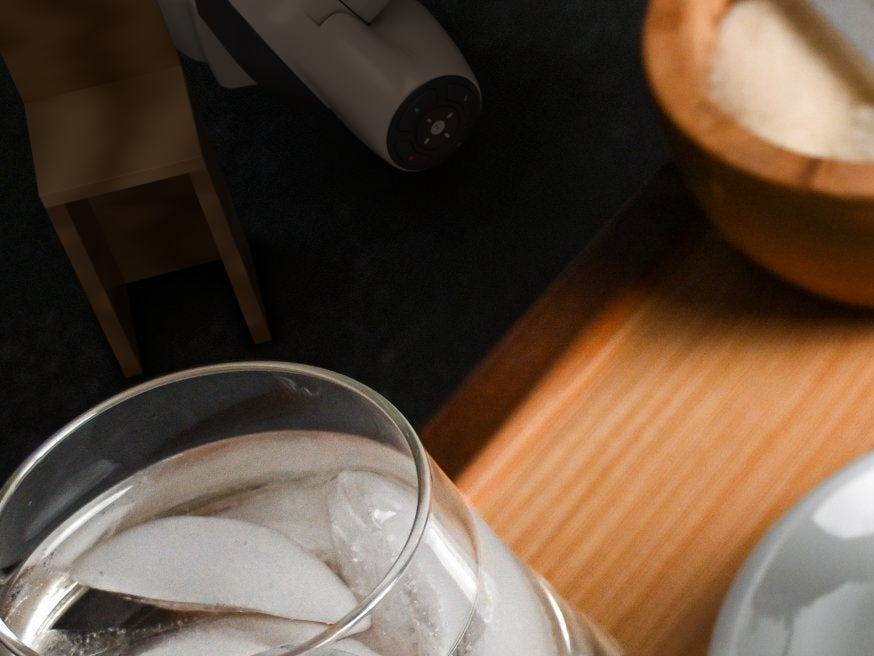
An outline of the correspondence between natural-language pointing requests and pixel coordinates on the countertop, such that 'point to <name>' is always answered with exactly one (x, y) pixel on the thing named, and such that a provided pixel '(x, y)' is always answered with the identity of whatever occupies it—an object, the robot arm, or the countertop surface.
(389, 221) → the countertop surface
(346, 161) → the countertop surface
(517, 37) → the countertop surface
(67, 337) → the countertop surface
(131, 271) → the wooden chair
